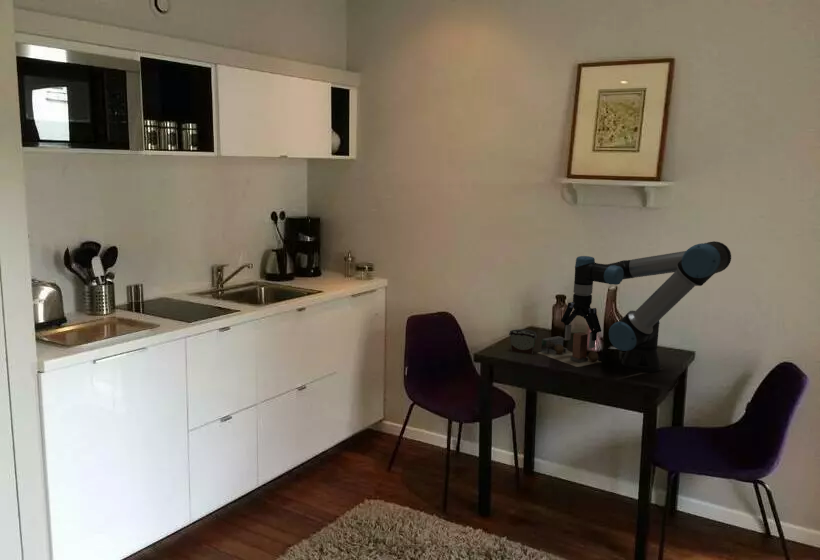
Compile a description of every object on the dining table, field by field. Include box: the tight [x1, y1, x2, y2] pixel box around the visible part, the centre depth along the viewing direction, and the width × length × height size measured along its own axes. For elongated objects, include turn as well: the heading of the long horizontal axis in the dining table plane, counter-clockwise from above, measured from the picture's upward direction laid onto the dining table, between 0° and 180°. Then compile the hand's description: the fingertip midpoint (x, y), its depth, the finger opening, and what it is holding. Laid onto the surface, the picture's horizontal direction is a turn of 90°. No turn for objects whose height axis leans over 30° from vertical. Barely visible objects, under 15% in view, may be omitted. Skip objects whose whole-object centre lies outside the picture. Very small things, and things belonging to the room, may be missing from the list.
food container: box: [508, 328, 538, 355], centre depth 302 cm, size 12×6×10 cm, turn 63°
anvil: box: [540, 335, 568, 356], centre depth 300 cm, size 7×10×6 cm
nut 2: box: [587, 350, 599, 362], centre depth 288 cm, size 4×4×4 cm
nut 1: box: [554, 344, 565, 354], centre depth 299 cm, size 4×4×4 cm
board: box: [537, 350, 602, 368], centre depth 294 cm, size 24×14×1 cm, turn 33°
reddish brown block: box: [570, 331, 589, 363], centre depth 288 cm, size 5×5×12 cm
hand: (579, 343), depth 288 cm, fingers open, 13 cm apart
